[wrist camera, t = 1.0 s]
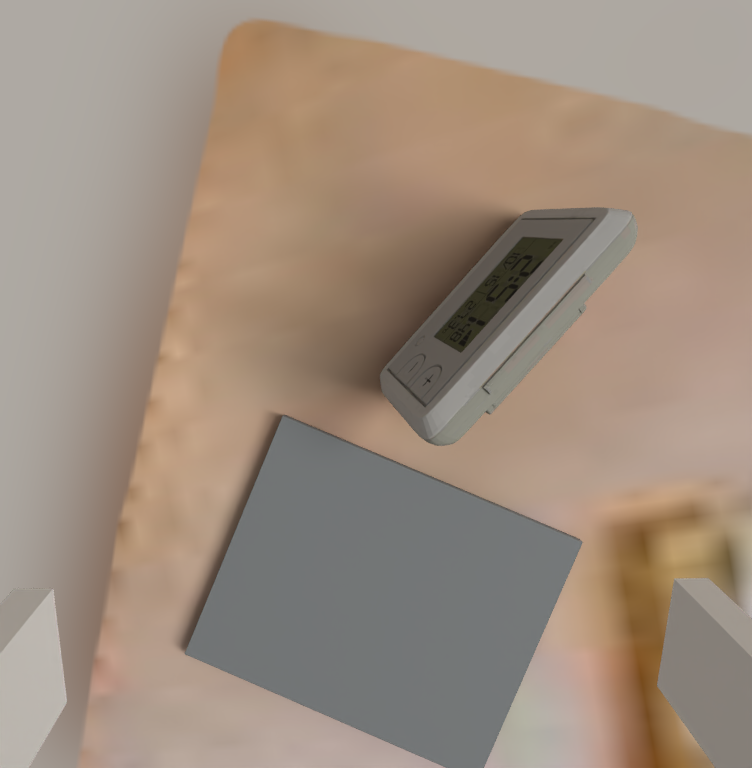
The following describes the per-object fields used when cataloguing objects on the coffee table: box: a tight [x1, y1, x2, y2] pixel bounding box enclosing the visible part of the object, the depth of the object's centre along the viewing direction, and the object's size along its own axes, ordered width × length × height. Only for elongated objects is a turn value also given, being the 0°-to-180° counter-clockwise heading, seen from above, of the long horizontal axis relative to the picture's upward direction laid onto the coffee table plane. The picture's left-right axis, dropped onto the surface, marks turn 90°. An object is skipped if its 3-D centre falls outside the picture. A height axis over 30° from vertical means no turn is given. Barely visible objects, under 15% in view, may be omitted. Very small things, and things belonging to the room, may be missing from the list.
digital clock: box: [380, 208, 638, 446], centre depth 35 cm, size 16×9×11 cm, turn 127°
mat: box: [185, 415, 583, 768], centre depth 41 cm, size 22×18×1 cm
